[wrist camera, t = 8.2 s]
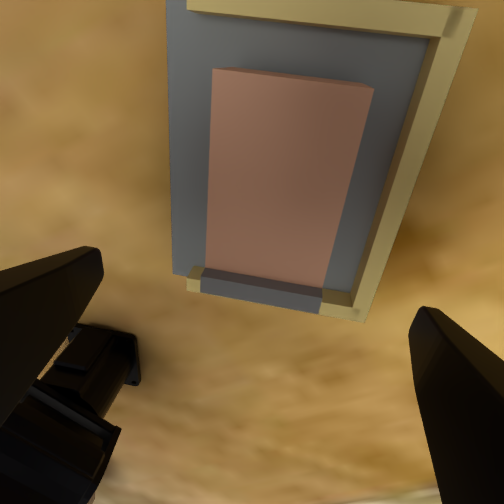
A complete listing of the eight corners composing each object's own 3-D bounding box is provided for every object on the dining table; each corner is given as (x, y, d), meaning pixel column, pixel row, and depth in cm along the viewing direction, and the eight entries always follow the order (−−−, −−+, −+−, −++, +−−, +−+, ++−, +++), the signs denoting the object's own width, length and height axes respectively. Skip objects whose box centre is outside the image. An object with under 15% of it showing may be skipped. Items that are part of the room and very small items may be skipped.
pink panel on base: (317, 260, 21) (318, 314, 16) (223, 244, 21) (200, 292, 17) (360, 82, 16) (378, 90, 11) (236, 66, 16) (206, 68, 12)
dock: (358, 289, 24) (364, 323, 21) (182, 259, 25) (164, 286, 22) (447, 18, 16) (478, 8, 13) (180, -9, 17) (151, -24, 14)
